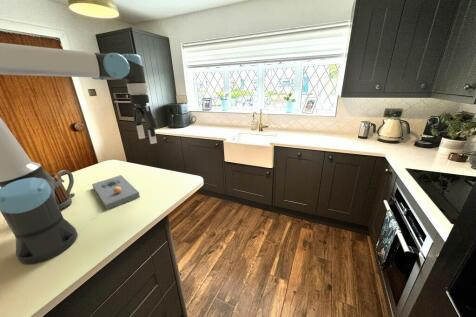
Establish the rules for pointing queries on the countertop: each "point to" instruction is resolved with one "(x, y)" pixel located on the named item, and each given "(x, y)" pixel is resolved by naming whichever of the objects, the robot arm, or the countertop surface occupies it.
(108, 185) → the plate
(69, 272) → the countertop surface
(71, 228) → the robot arm
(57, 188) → the mug
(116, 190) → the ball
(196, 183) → the countertop surface
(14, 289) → the countertop surface
